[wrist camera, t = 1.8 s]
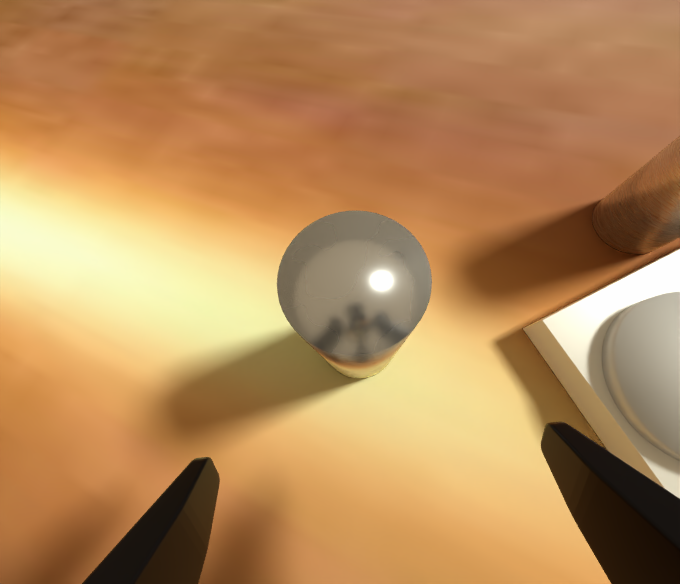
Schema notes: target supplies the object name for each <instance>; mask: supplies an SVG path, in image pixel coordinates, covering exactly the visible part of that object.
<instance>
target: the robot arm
mask: <svg viewBox="0 0 680 584" xmlns="http://www.w3.org/2000/svg"><path fill="white" fill-rule="evenodd" d="M541 449H542V452H543V455H544V457H545V459H546V461H547V463H548V465H549V468H550V470H551V472H552V474H553V476H554V478H555V480H556V483H557V485H558V487H559V489H560V491H561V493H562V495H563V498H564V500H565V502H566V504H567V506H568V508H569V510H570V512H571V514H572V516H573V518H574V520H575V522H576V523H577V525H578V527H579V529H580V531H581V532H582V534H583V536H584V537H585V539H586V541H587V543H588V544H589V546H590V548H591V549H592V551H593V553H594V555H595V556H596V558H597V560H598V562H599V563H600V565H601V567H602V568H603V570H604V572H605V574H606V575H607V577H608V579H609V580H610V582H611V584H680V498H678V497H677V496H675V495H674V494H672V493H671V492H669V491H668V490H666V489H665V488H663V487H662V486H660V485H659V484H657V483H656V482H654V481H653V480H651V479H650V478H648V477H647V476H645V475H644V474H642V473H640V472H639V471H637V470H636V469H634V468H633V467H631V466H630V465H628V464H627V463H625V462H624V461H622V460H621V459H619V458H618V457H616V456H615V455H613V454H612V453H610V452H609V451H607V450H606V449H604V448H603V447H601V446H600V445H598V444H597V443H595V442H594V441H592V440H591V439H589V438H588V437H586V436H585V435H583V434H582V433H580V432H579V431H577V430H576V429H574V428H573V427H571V426H570V425H568V424H566V423H564V422H553V423H547V424H546V425H545V429H544V433H543V437H542V441H541ZM219 482H220V479H219V474H218V472H217V470H216V468H215V466H214V463H213V461H212V459H211V458H209V457H202V458H196V459H194V460H193V461H191V462H190V464H189V465H188V466H187V467H186V468H185V469H184V470H183V471H182V473H181V474H180V475H179V476H178V477H177V478H176V479H175V480H174V481H173V483H172V484H171V485H170V486H169V487H168V488H167V489H166V490H165V491H164V493H163V494H162V495H161V496H160V497H159V498H158V499H157V500H156V502H155V503H154V504H153V505H152V506H151V507H150V508H149V509H148V510H147V512H146V513H145V514H144V515H143V516H142V517H141V518H140V519H139V521H138V522H137V523H136V524H135V525H134V526H133V527H132V528H131V529H130V531H129V532H128V533H127V534H126V535H125V536H124V537H123V538H122V540H121V541H120V542H119V543H118V544H117V545H116V546H115V547H114V548H113V550H112V551H111V552H110V553H109V554H108V555H107V556H106V557H105V558H104V560H103V561H102V562H101V563H100V564H99V565H98V566H97V567H96V569H95V570H94V571H93V572H92V573H91V574H90V575H89V576H88V577H87V579H86V580H85V581H84V582H83V583H82V584H198V583H199V579H200V575H201V572H202V568H203V564H204V561H205V557H206V553H207V549H208V544H209V539H210V534H211V528H212V523H213V517H214V511H215V506H216V500H217V495H218V489H219Z"/></svg>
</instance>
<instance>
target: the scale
mask: <svg viewBox="0 0 680 584" xmlns="http://www.w3.org/2000/svg"><path fill="white" fill-rule="evenodd" d="M523 330H524V331H525V333H526V334H527V335H528V337H529V338H530V340H531V341H532V343H533V344H534V345H535V347H536V348H537V350H538V351H539V353H540V354H541V355H542V357H543V358H544V360H545V361H546V363H547V364H548V365H549V367H550V368H551V370H552V371H553V373H554V374H555V375H556V377H557V378H558V380H559V381H560V383H561V384H562V385H563V387H564V388H565V390H566V391H567V393H568V394H569V396H570V397H571V398H572V400H573V401H574V403H575V404H576V406H577V407H578V408H579V410H580V411H581V413H582V414H583V416H584V417H585V418H586V420H587V421H588V423H589V424H590V426H591V427H592V428H593V430H594V431H595V433H596V434H597V436H598V437H599V438H600V440H601V441H602V443H603V444H604V446H605V447H606V449H607V450H608V451H609V452H610V453H612V454H613V455H615V456H616V457H618V458H619V459H621V460H622V461H624V462H625V463H627V464H628V465H630V466H631V467H633V468H634V469H636V470H637V471H639V472H640V473H642V474H644V475H645V476H647V477H648V478H650V479H651V480H653V481H654V482H656V483H657V484H659V485H660V486H662V487H663V488H665V489H666V490H668V491H669V492H671V493H672V494H674V495H675V496H677V497H678V498H680V248H678V249H676V250H674V251H672V252H670V253H668V254H666V255H664V256H663V257H661V258H659V259H657V260H655V261H653V262H651V263H649V264H647V265H645V266H643V267H641V268H639V269H637V270H635V271H633V272H631V273H630V274H628V275H626V276H624V277H622V278H620V279H618V280H616V281H614V282H612V283H610V284H608V285H606V286H604V287H602V288H600V289H598V290H596V291H595V292H593V293H591V294H589V295H587V296H585V297H583V298H581V299H579V300H577V301H575V302H573V303H571V304H569V305H567V306H565V307H563V308H561V309H560V310H558V311H556V312H554V313H552V314H550V315H548V316H546V317H544V318H542V319H540V320H538V321H536V322H534V323H532V324H530V325H528V326H527V327H525V328H523Z"/></svg>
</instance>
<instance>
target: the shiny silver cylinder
mask: <svg viewBox="0 0 680 584" xmlns="http://www.w3.org/2000/svg"><path fill="white" fill-rule="evenodd" d="M431 285H432V278H431V270H430V265H429V262H428V259H427V256H426V254H425V252H424V250H423V248H422V246H421V245H420V243H419V242H418V241H417V239H416V238H415V237H414V236H413V235H412V234H411V233H410V232H409V231H408V230H407V229H406V228H405V227H403V226H402V225H401V224H399V223H397V222H396V221H394V220H392V219H390V218H388V217H386V216H383V215H380V214H377V213H372V212H367V211H345V212H338V213H335V214H331V215H328V216H325V217H323V218H320V219H319V220H317V221H315V222H313V223H311V224H310V225H309V226H307V227H306V228H304V229H303V230H302V231H301V232H300V233H299V234H298V235H297V236H296V237H295V238H294V239H293V241H292V242H291V243H290V245H289V246H288V248H287V249H286V251H285V253H284V255H283V258H282V260H281V263H280V266H279V271H278V278H277V291H278V297H279V302H280V305H281V308H282V311H283V313H284V315H285V317H286V318H287V320H288V322H289V323H290V324H291V326H292V327H293V328H294V330H295V331H296V332H297V333H298V334H299V335H300V336H301V337H302V338H303V339H304V340H305V341H307V342H308V343H309V344H310V345H311V346H312V347H313V348H314V349H315V350H316V351H317V352H318V353H319V354H320V355H321V356H322V357H323V358H324V359H325V360H326V361H327V362H329V363H330V364H331V365H332V366H333V367H334V368H335V369H336V370H337V371H338V372H340V373H342V374H343V375H346V376H348V377H352V378H367V377H371V376H374V375H376V374H378V373H379V372H381V371H382V370H383V369H384V368H385V367H386V366H387V365H388V363H389V362H390V361H391V359H392V358H393V357H394V355H395V354H396V353H397V351H398V350H399V348H400V347H401V346H402V344H403V343H404V342H405V340H406V339H407V338H408V336H409V335H410V334H411V332H412V331H413V329H414V328H415V327H416V325H417V324H418V323H419V321H420V320H421V318H422V316H423V314H424V313H425V311H426V308H427V305H428V303H429V299H430V294H431Z"/></svg>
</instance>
